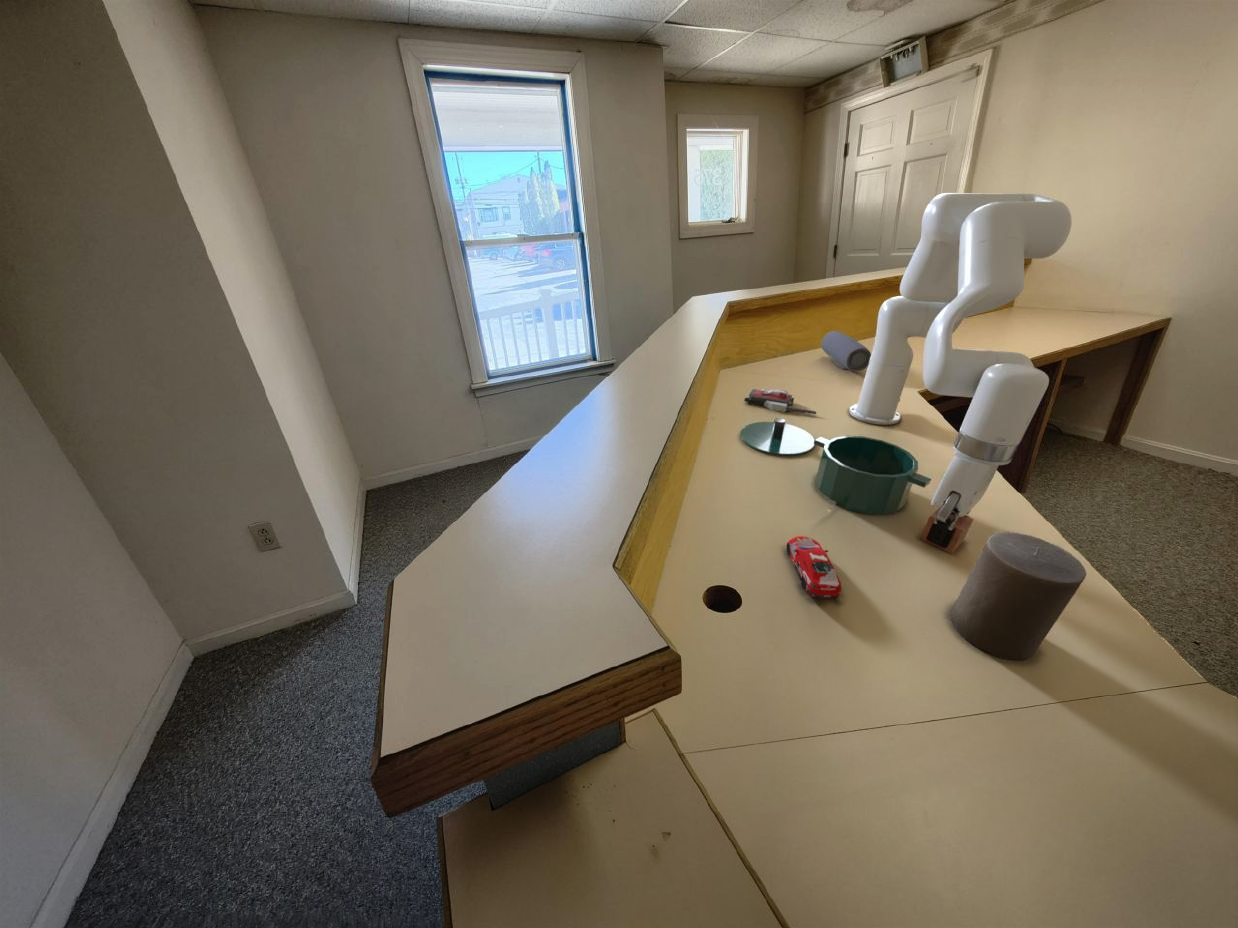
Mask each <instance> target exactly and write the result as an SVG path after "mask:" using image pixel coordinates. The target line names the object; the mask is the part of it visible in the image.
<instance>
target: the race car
mask: <svg viewBox="0 0 1238 928" xmlns="http://www.w3.org/2000/svg"><path fill="white" fill-rule="evenodd" d="M828 552H829V550H828V549H823V547H822V546H821V544H820V542H819V541H817V540H815V539H813V538H811V537H808V536H803V535H798V536H795V537H793V538H791V539H789V540H788V541H787V543H786V553H787V555H788V556H789V558H790V560H791V562H792V564H793V567H794V569H795V572H796V574H797V576H798V578H799V580H800V581H801V587H802V589H803V590H805V592H806V593H807V594H808V595H809V596H810V597H812V598H815V599H819V600H820V599H829V600H830V599H835V600H837V598H839V597H840V595H841V592H842V582H841V580H840V578H839V576H838V573H837V572H836V570H835V567H834V565H833V564H832V561H831V560H830V557H829V555H828Z"/></svg>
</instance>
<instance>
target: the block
mask: <svg viewBox="0 0 1238 928" xmlns="http://www.w3.org/2000/svg"><path fill="white" fill-rule="evenodd" d="M940 508H941V506H938V507H937V509H936V510H935V511H934V512H933V513H931V514H930V516H929V517H928V519H927V522H926V525H925V527H924V528H923V532H922V533H921V537H920V540H922V541H924V542H926V543H928V544H931V545H932V546H935V547H937V548H940V549H941V550H943V551H946V552H948V553H950V554H953V553H954V552H955V551H956V549H957V548H958V547H960V546H961V544H962V543H963V542H964V540H965V538H966V536H967V534H968V533H969V530H970V528H971V526H972V524H973V522H974V520H975V519H974V518H972V517H971V516H969V515H967V514H966V515H967V516H966V515H965V516H962V517H960V518H959V519H958V521H957V523H956V525H955V527H954V529H956V530H955V532H954V534H953V536H952V539H951V541H950V543H949V545H948V547H947V548H942V547H940V546H938V545H936V544H934V543H932V542H929V541H927V539H926V537H927V535H928V533H929V530H930V528H931V526H932V524H933V521H934V520H935V518H936V516H937V514H938V512H939V510H940ZM968 516H969V517H968ZM949 518H950V519H951V521H952V520H953V518H954V516H953V515H950V517H949Z"/></svg>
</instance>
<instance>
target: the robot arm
mask: <svg viewBox="0 0 1238 928" xmlns="http://www.w3.org/2000/svg"><path fill="white" fill-rule="evenodd" d="M1071 229H1072V214H1071V211H1070V209H1069V207H1068V206H1067V205H1066V204H1065V203H1064V202H1063V201H1060V200H1057V199H1054V198H1050V197H1047V196H1043V195H1041V194H1036V193H1019V192H1018V193H988V192H987V193H986V192H985V193H983V192H981V193H980V192H978V193H975V192H974V193H972V192H971V193H968V192H967V193H966V192H965V193H963V192H962V193H961V192H945V193H940V194H938V195H936V196H934V197H933V198H932V200H930V202H929V203H928V204H927V206H926V207H925V209H924V211H923V215H922V219H921V232H920V233H921V235H920V240H919V242H918V244H917V246H916V248H915V250H914V252H913V255H912V256H911V259H910V260H909V263H908V265H907V267H906V269H905V271H904V274H903V276H902V278H901V281H900V283H899V293H900V295H897V296H892V297H890V298H888V299H886V300H885V301H884V302H883V303H882V304H881V306H880V308H879V311H878V314H877V322H876V332H875V337H874V342H873V347H872V350H871V357H870V361H869V365H868V366H867V367H866V368H867V369H866V373H865V376H864V379H863V383H862V386H861V390H860V393H859V397H858V401H857V403H855V404H853V405H851V406H850V407H849V411H848V412H849V414H850V415H851V417H853V418H854V419H857V420H858V421H861V422H864V423H867V424H872V425H880V426H890V425H895V424H897V423H900V420H901V418H902V416H901V414H900V413H899V411H897V409H898V405H899V403H900V402H901V397H902V394H903V390H904V387H905V385H906V382H907V378H908V375H909V372H910V370H911V366H912V364H913V359H914V351H913V348H912V346H911V344H910V343H909V342H908V339H910V338H921V339H923V338H924V339H925V340H924V344H923V355H922V356H923V358H922V381H923V384H924V386H925V388H926V390H928V391H929V392H931V393H932V394H934V395H939V396H948V397H961V398H972V399H971V402H970V403H969V407H968V409H967V411H966V413H965V416H964V418H963V421H962V423H961V425H960V428H959V431H958V432H957V435H956V437H955V440H954V443H953V444H952V449H953V451H954V452H955V454H954V456H953V458H952V459H951V461H950V463H949V464H948V467H947V468H946V471H945V472H944V474H943V476H942V479H941V481H940V482H939V485H938V487H937V488H936V491H935V493H934V495H933V497H932V499H931V502H930V504H931V507H934V508H935V507H936V508H939V507H941V508H940V510H939V512H938V514H937V516H936V518H935V520H934V521H933V524H932V526H931V528H930V530H929V533H928V535H927V537H926V539H927V541H929V542H932V543H934V544H936V545H938V546H940V547H942V548H947V547H948V545H949V543H950V541H951V539H952V536H953V534H954V532H955V530H956V529H954V527H955V525H956V523H957V521H958V519H959V518H960V517H962V516H965V515H966V516H968V517H970V516H969V514H970V513H971V511H972V510H973V508H974V507H976V506H977V505H978V503H979V502H980V501H981V500H982V498H983V497H984V495H985V494H986V491H987V490H988V488H989V486H990V484H991V482H992V481H993V478H994V477H995V474H996V472H997V470H998V468H999V466H1004V465H1008V464H1010V463H1011V462H1012V460H1013V459H1014V458H1013V457H1014V455H1015V454H1016V452H1017V450H1018V448H1019V445H1020V443H1021V442H1022V440H1023V438H1024V435H1025V433H1026V432H1027V429H1028V427H1029V425H1030V423H1031V422H1032V419H1033V417H1034V415H1035V414H1036V411H1037V409H1038V407H1039V405H1040V404H1041V401H1042V399H1043V397H1044V395H1045V393H1046V391H1047V389H1048V387H1049V383H1050V378H1049V375H1048V374H1046V372H1044V371H1043V370H1041V369H1039V368H1036V367H1035V366H1034V364H1033V362H1032V360H1031V359H1030V358H1029V357H1028V356H1027V355H1025V354H1023V353H1021V352H1015V351H1006V350H1005V351H1003V350H990V349H974V348H957V347H953V334H954V333H955V332H956V330H957V329H958V328H959V326H960V325H961V323H962V322H963V320H964V319H965V318H966V319H967V318H968V317H971V316H972V317H973V316H975V315H978V314H981V313H985V312H988V311H991V310H995V309H998V308H1000V307H1002V306H1006V305H1007V304H1009V303H1011V302H1012V301H1014V300H1016V299H1017V298H1018V297H1019V296H1020V295H1021V294H1022V292H1023V290H1024V287H1025V259H1030V260H1034V259H1035V260H1036V259H1046V258H1049V257H1051V256H1053V255H1054V254H1056V253H1057V252H1058V251H1060V249H1061V248H1062V247H1063V246H1064V245H1065V243H1066V242H1067V239H1068V238H1069V235H1070V233H1071ZM950 515H953V516H954V518H953V520H952V521H951V519H950V518H949V517H950Z"/></svg>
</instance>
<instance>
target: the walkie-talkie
mask: <svg viewBox="0 0 1238 928" xmlns="http://www.w3.org/2000/svg"><path fill="white" fill-rule="evenodd" d="M794 400H795V397H793V395H792V394H789V392H788V391H787V390H782V389H775V388H772V389H770V390H765V388H762V389H756V388H755V389H754V388H752V389H751V391H750V392H749V394H748V397H745V398H744V399H743V401H744V402H746V403H748V404H751V405H756V406H763V407H765V408H766V409H769V410H771V411H775V412H782V413H786V412H794V413H800V414H806V413H807V414H812V415H816V414H817V412H816V410H810V409H804V408H798V407H792V406H793V404H794V402H795V401H794Z"/></svg>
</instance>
